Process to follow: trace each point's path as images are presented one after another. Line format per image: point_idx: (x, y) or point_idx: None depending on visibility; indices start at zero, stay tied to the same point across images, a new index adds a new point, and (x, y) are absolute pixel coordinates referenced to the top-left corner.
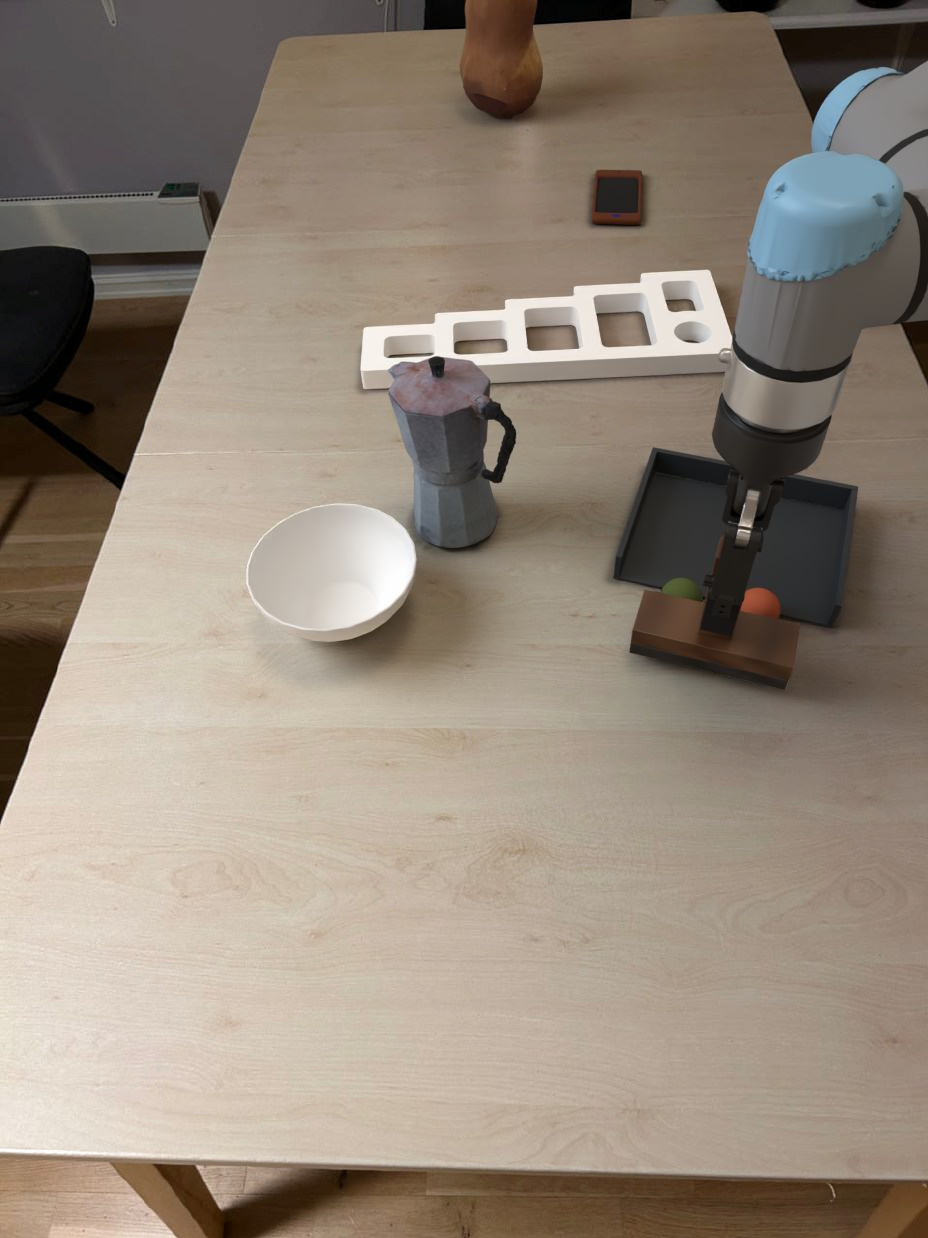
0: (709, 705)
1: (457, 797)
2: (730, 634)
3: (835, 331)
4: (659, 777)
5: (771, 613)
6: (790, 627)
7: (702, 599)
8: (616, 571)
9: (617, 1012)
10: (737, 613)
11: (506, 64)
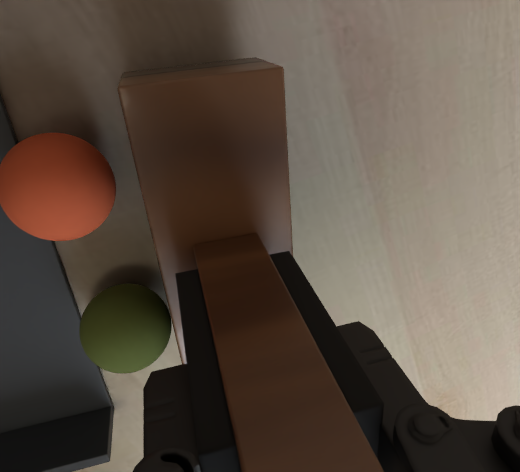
0: (310, 181)
1: (509, 374)
2: (291, 257)
3: None
4: (457, 202)
5: (78, 161)
6: (146, 112)
7: (112, 299)
8: (111, 422)
9: None
10: (323, 308)
11: None
